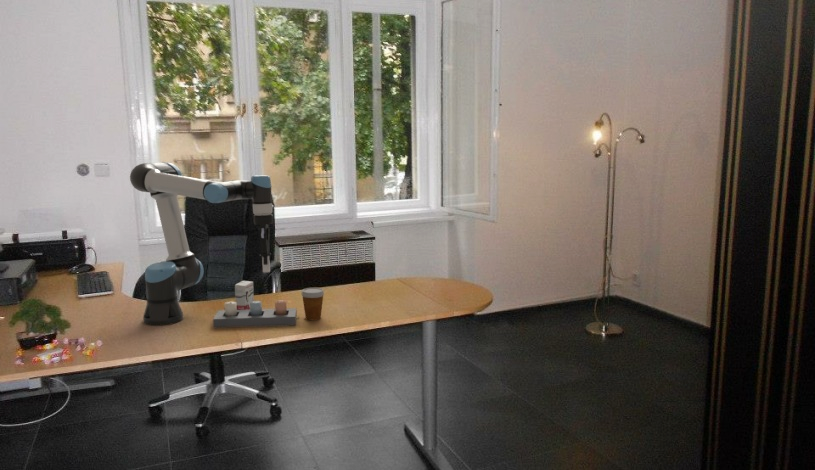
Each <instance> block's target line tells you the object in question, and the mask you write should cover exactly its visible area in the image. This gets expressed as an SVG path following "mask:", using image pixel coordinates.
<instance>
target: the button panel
mask: <svg viewBox="0 0 815 470" xmlns="http://www.w3.org/2000/svg"><path fill="white" fill-rule="evenodd" d="M297 309H298V308H296V307H292V308H290V307H289V308H287V314H285V315H276V314H275V308H262V315H259V316H252V315H250V309H249V310H237V315H236V316H229V317H227V316H225V309H223V310H217V312H216V314H215V315H214V317H213V319H212V325H213V328H214V329H216V328H243V327H250V328H251V327H273V326H274V327H276V326H296V321H297Z"/></svg>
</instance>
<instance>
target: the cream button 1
mask: <svg viewBox="0 0 815 470" xmlns="http://www.w3.org/2000/svg"><path fill="white" fill-rule="evenodd" d="M224 310H225V316H227V317H229V316H236V315H237V303H236V302H235V301H226V302H224Z"/></svg>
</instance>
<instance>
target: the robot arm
mask: <svg viewBox="0 0 815 470" xmlns="http://www.w3.org/2000/svg"><path fill="white" fill-rule="evenodd" d="M129 175H130V176H129V180H130V184H131V185H132V187H134V189H136V190H137V191H140V192H142V193H143V192H144V193H150V194H149V195H150V198H152V199H153V200H155V204H156V206H157V207H156V208H157V211H158V215H159V220H160V223H161V224H160V225H161V228H162V233H163V238H164V242H165V246H166V250H167V254H168V256H167V257H166V259H165V261H161V262H155V263H152V264H150V265H148V266H147V267H146V269H145V271H144V272H145V273H144V275H145V276H144V282H145V293H146V295H145V296H146V305H145V309H144V313H143V317H142V319H143V321H142V323H143V324H144V325H147V326H168V325H172V324H177V323H179V322H181V321H182V320H184V314H183V310H182V307H181V305H180V303H179V301H178V291H181V290H183V289H186V288H190V287H193V286H194V285H197V284H198V283H200V281H201V280H202V279H203V277H204V266H203V263H202V262H201V261H200V260H199V259H197V257H196V256H195V253H193V252H192V251H191V250H190V246H189V242H188V238H187V234H186V229H185V225H184V221H183V216H182V211H181V207H180V204H179V199H178V196H183V197H190V198H193V199H199V200H206V201H207V202H209V203H211V204H221V203H225V202H226V203H227V202H231V201H237V200H251V201H252V214H254V215H253V224H254V225H257V226H258V225H259V228H258V236H259V244H260V254H259V257H261V261H262V262H261V263H262V273H270V272H271V264H270V256H271V255H272V253H270V230H271V229H270V227H269V226H268V225H272V224H273V223H274V215H273V214H272V213H273V208H274V205H273V200H272V199H273V196H272V195H273V194H272V182H271V176H269V175H268V174H257V175H251V178H250V179H248V180H244V179H242V180H241V179H239V180H237V179H232V180H227V181H223V182H221V181H215V180H209V179H208V180H207V179H203V178H202V179H201V178H196V177H190V176H184V175H183V174H182V171H181V170H180V168H179V167H178V166H177V165H175V163H171V162H164V161H162V162H161V161H160V162H149V163H148V162H147V163H145V162H144V163H140V164H138V165H136V166H135V167H133V168H132V169H131V171H130V174H129Z"/></svg>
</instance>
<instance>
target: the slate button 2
mask: <svg viewBox="0 0 815 470" xmlns="http://www.w3.org/2000/svg"><path fill="white" fill-rule="evenodd" d="M262 305H263V304H262V301H261V300H254V301H252V302H250V309H249V310H250V315H252V316H259V315H262V309H263V306H262Z"/></svg>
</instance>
